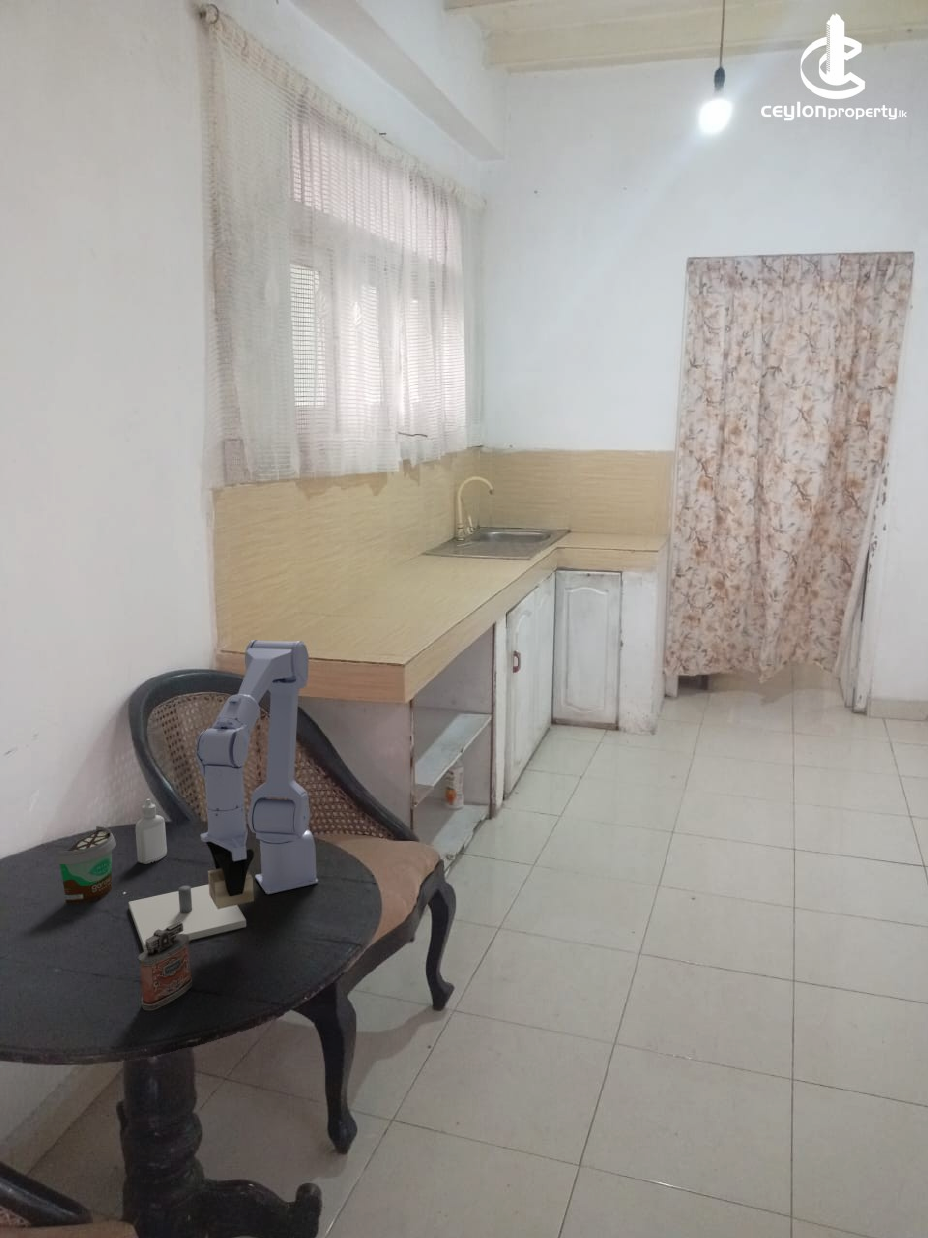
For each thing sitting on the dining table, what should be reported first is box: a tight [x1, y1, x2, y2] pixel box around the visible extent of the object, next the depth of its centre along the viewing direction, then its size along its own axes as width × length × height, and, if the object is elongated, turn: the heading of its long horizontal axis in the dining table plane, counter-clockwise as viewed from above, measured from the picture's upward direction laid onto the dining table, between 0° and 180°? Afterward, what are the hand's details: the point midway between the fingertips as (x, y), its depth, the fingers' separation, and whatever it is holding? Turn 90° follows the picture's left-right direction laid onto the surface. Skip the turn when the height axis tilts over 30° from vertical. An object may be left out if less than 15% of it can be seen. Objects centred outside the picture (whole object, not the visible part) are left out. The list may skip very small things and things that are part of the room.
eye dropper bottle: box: [135, 798, 168, 865], centre depth 177 cm, size 4×6×12 cm
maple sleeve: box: [207, 868, 255, 909], centre depth 145 cm, size 6×6×4 cm
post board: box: [128, 883, 247, 952], centre depth 154 cm, size 16×16×5 cm
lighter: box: [137, 922, 193, 1011], centre depth 132 cm, size 8×3×10 cm, turn 148°
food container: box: [56, 825, 117, 905], centre depth 163 cm, size 12×6×10 cm, turn 168°
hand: (230, 886), depth 145 cm, fingers closed on maple sleeve, 6 cm apart
